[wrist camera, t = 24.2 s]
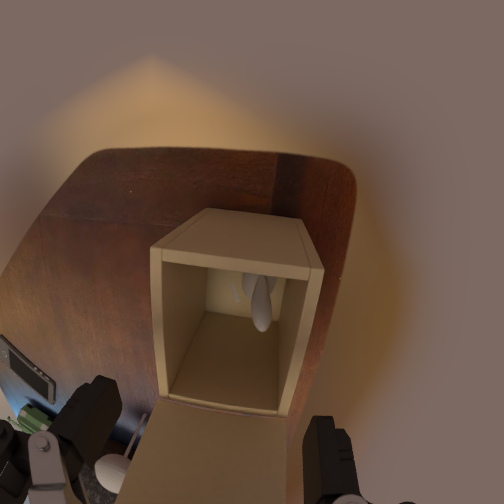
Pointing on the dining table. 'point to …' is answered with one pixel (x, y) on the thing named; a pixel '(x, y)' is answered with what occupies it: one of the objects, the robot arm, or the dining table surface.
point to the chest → (232, 310)
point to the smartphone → (27, 371)
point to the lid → (207, 459)
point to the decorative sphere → (96, 493)
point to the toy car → (32, 420)
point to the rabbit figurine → (258, 297)
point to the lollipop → (115, 466)
